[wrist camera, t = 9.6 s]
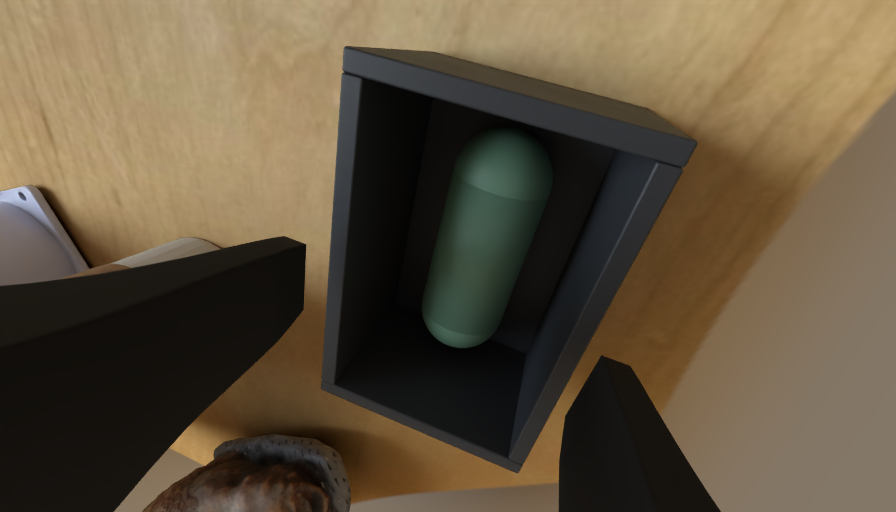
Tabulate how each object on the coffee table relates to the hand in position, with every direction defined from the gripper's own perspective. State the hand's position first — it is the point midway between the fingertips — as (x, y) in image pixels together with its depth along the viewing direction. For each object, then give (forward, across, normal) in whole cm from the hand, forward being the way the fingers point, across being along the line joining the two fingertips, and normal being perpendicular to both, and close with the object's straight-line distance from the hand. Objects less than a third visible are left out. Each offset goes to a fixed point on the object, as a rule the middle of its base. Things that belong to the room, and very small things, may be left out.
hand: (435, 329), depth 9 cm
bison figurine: (+6, +7, +20) cm, 22 cm away
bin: (+6, 0, 0) cm, 6 cm away
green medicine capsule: (+6, 0, 0) cm, 6 cm away
